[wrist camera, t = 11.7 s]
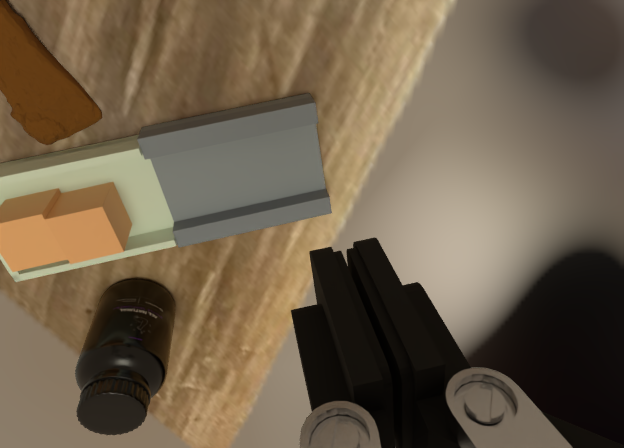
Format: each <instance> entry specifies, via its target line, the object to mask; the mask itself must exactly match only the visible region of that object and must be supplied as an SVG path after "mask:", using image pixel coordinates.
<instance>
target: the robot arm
mask: <svg viewBox="0 0 624 448" xmlns="http://www.w3.org/2000/svg"><path fill="white" fill-rule="evenodd" d="M310 260H311V267H312V273H313V280H314V287H315V293H316V299H317V305H312V306H308V307H303V308H298V309H294V310H291V314H292V319H293V324H294V329H295V334H296V339H297V343H298V349H299V353H300V358H301V363H302V368H303V372H304V377H305V381H306V386H307V390H308V395H309V400H310V405H311V409H312V413H311V414H310V415H309V416H308V417H307V418H306V420H305V422H304V424H303V426H302V429H301V435H300V448H395V446H396V448H624V446H623V445H621V444H618V443H616V442H613V441H611V440H608V439H606V438H604V437H601V436H599V435H596V434H594V433H592V432H589V431H587V430H585V429H582V428H580V427H577V426H575V425H572V424H570V423H568V422H565V421H563V420H560V419H558V418H555V417H553V416H551V415H548V414H546V413H543V412H541V411H540V410H539V409H538V408H537V407H536V406H535V405H534V403H533V402H532V401H531V400H530V399H529V398H528V397H527V395H526V394H525V393H524V392H523V391H522V390H521V389H520V388H519V387H518V385H517V384H515V383H514V382H513V381H512V380H511V379H510V378H509V377H507V376H505V375H503V374H501V373H499V372H498V371H494V370H491V369H487V368H471V367H470V365H469V364H468V362H467V360H466V359H465V357H464V355H463V354H462V352H461V350H460V349H459V347H458V345H457V344H456V342H455V340H454V339H453V337H452V335H451V334H450V332H449V330H448V329H447V327H446V325H445V324H444V322H443V320H442V319H441V317H440V315H439V314H438V312H437V310H436V309H435V307H434V305H433V304H432V302H431V300H430V299H429V297H428V295H427V293H426V292H425V290H424V288H423V287H422V286H421V285H420V284H419V283H418V282H416V283H411V284H407V285H402V284H401V282H400V280H399V278H398V276H397V275H396V273H395V271H394V269H393V267H392V265H391V263H390V262H389V260H388V258H387V256H386V254H385V252H384V251H383V249H382V247H381V245H380V243H379V241H378V240H377V238H370V239H366V240H361V241H356V242H354V244H353V248H351V249H347V262H348V266H347V264H346V262H345V259H344V257H343V254H342V252H341V251H337V252H333V249H332V247H328V248H323V249H318V250H313V251H310Z"/></svg>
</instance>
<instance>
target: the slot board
mask: <svg viewBox="0 0 624 448" xmlns="http://www.w3.org/2000/svg"><path fill="white" fill-rule="evenodd" d="M317 123H318V117H317V111H316V104H315V101H314V100H313V98H312V96H311V95H310V93H307V94H302V95H297V96H292V97H287V98H283V99H278V100H273V101H268V102H263V103H258V104H253V105H249V106H244V107H239V108H234V109H229V110H224V111H219V112H214V113H210V114H205V115H200V116H195V117H190V118H185V119H180V120H175V121H171V122H166V123H161V124H156V125H151V126H146V127H142V128H141V131H140V133H139V136H138V138H137V141H138V143H139V146H140V148H141V151H142V154H143V156H144V159H145V160H146V159H150V160H151V162H152V165H153V168H154V170H155V173H156V176H157V178H158V181H159V183H160V186H161V189H162V191H163V194H164V197H165V199H166V202H167V205H168V207H169V210H170V213H171V215H172V218H173V221H174V226H173V234H174V237H175V239H176V242H177V244H178V247H183V246H188V245H192V244H196V243H201V242H205V241H210V240H214V239H219V238H223V237H228V236H232V235H237V234H241V233H246V232H250V231H254V230H259V229H263V228H268V227H272V226H277V225H281V224H286V223H290V222H295V221H299V220H304V219H308V218H312V217H317V216H321V215H326V214H330V213H332V211H331V204H330V198H329V195H328V193H327V190H326V187H325V180H324V174H323V167H322V161H321V154H320V148H319V141H318V134H317V128H316V124H317Z"/></svg>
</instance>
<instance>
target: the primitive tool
mask: <svg viewBox="0 0 624 448" xmlns="http://www.w3.org/2000/svg"><path fill="white" fill-rule="evenodd" d="M0 90H1V91H2V92H3V94H4V95H5V97H6V98H7V102H8V103H10V105H11V106H12V112H11V116H12V117H13V118H14V119H16V120H17V121H18V122H19V123H21V125H22V126H23V128H24V130H25V131H26V132H27V133H28V134H29V135H30V136H32V137H33V138H35V139H36V140H37V141H38V142H40V143H43V144H46V145H49V144H52V143H54V142H56V141H58V140H61V139H64V138H67V137H69V136H71V135H73V134H74V133H77V132H79V131H81V130H83V129H85V128H87V127H89V126H91V125H92V124H94V123H96V122H97V121H98V120H100V119H101V118H102V112H101V110H100V109H99V108H98V106H97V105H96V104H95V103H94V101H93V100H92V99H91V98H90V96H89V95H88V94H87V93H86V91H85V90H84V89H83V88H82V87H81V86H80V84H79V83H78V82H77V81H76V80H75V79H74V78H73V77H72V76H71V75H70V74H69V73H68V71H67V70H66V69H65V68H64V67H62V66H61V64H60V63H59V62H58V61H57V60H56V59H55V58H54V57H53V56H52V55H51V54H50V53H49V52H48V51H47V49H46V48H45V47H44V46H43V45H42V44H41V43H40V41H39V40H38V39H37V38H36V36H35V35H34V34H33V33H32V31H31V30H30V29H29V27H28V26H27V24H26V23H25V21H24V20H23V19H22V18H21V17H20V16H18V15H17V14H15V13H14V12H13V10H12V9H11V8H10V6H9V5H8V4H7V2H6V1H5V0H0Z"/></svg>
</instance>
